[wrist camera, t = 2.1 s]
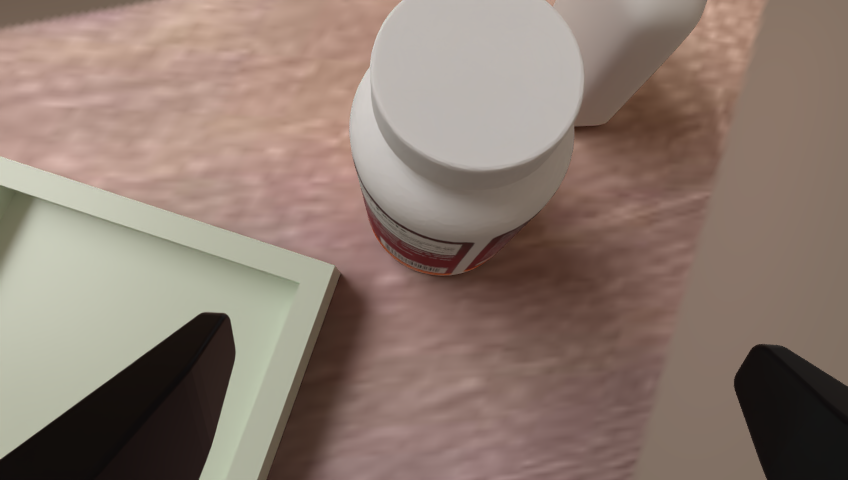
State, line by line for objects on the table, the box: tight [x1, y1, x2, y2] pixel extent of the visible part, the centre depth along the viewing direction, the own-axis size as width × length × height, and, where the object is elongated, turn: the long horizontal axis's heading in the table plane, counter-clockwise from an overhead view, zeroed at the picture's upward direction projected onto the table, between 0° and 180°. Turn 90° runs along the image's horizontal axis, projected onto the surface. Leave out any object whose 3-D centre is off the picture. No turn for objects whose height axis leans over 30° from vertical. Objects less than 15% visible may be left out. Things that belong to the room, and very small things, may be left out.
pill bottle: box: [349, 0, 585, 276], centre depth 16 cm, size 6×6×11 cm
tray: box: [0, 156, 341, 480], centre depth 18 cm, size 14×14×2 cm
